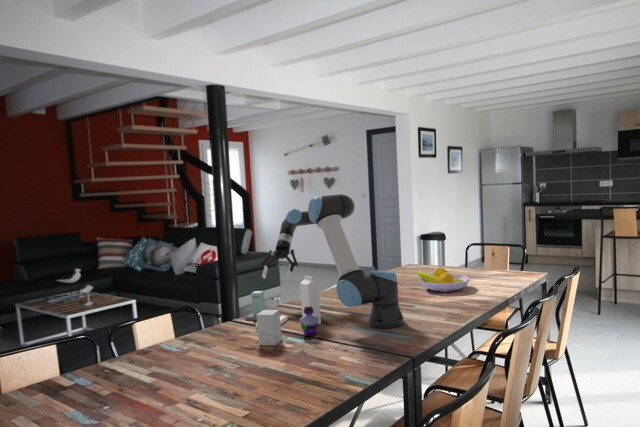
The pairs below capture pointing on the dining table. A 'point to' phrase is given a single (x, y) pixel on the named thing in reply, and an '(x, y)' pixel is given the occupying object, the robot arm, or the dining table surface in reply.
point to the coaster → (251, 317)
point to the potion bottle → (309, 322)
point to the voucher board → (282, 319)
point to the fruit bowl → (443, 280)
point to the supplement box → (269, 327)
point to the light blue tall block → (258, 302)
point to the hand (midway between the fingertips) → (275, 276)
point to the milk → (310, 296)
